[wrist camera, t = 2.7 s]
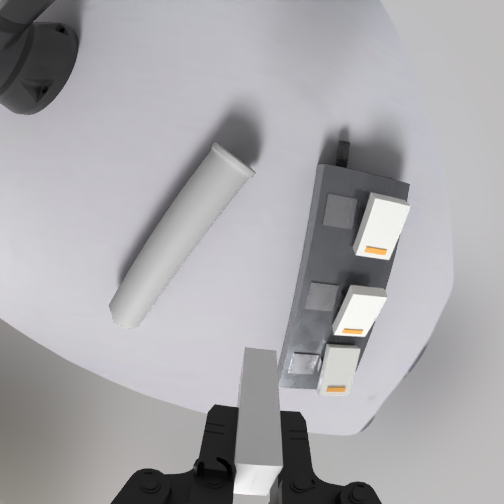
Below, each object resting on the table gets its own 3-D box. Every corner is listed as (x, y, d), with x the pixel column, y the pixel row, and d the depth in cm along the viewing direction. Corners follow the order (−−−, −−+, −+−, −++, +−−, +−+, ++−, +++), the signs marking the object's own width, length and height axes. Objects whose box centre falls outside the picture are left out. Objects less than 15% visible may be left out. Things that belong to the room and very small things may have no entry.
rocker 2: (370, 192, 25) (375, 198, 24) (405, 200, 25) (411, 207, 24) (352, 247, 29) (356, 256, 27) (385, 252, 29) (389, 260, 27)
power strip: (321, 138, 29) (329, 134, 25) (399, 158, 29) (416, 157, 25) (276, 370, 38) (278, 390, 34) (342, 374, 38) (348, 392, 34)
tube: (95, 310, 32) (206, 136, 25) (121, 301, 37) (227, 149, 30) (121, 342, 31) (247, 167, 25) (146, 329, 36) (262, 177, 30)
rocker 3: (350, 284, 28) (353, 295, 26) (383, 288, 28) (387, 298, 26) (332, 325, 31) (333, 336, 30) (362, 327, 31) (365, 337, 30)
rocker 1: (326, 343, 32) (330, 347, 30) (356, 345, 32) (361, 349, 30) (316, 390, 32) (319, 395, 30) (345, 390, 32) (349, 396, 30)
